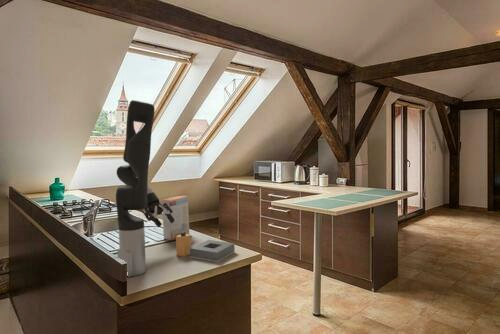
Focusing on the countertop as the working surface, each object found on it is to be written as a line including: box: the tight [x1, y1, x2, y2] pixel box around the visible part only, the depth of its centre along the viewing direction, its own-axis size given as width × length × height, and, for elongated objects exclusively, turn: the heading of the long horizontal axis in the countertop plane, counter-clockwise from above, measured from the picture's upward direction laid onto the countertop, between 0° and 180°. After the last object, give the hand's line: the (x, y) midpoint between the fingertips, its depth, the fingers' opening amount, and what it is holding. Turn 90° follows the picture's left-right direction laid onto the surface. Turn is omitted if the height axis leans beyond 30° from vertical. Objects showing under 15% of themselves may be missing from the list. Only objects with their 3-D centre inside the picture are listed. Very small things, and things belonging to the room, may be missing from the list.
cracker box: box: [161, 195, 190, 241], centre depth 178 cm, size 14×6×21 cm, turn 149°
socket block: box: [189, 239, 235, 263], centre depth 148 cm, size 14×14×4 cm
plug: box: [175, 232, 192, 257], centre depth 149 cm, size 4×4×10 cm
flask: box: [180, 223, 194, 245], centre depth 166 cm, size 7×7×10 cm
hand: (166, 223), depth 153 cm, fingers open, 8 cm apart
